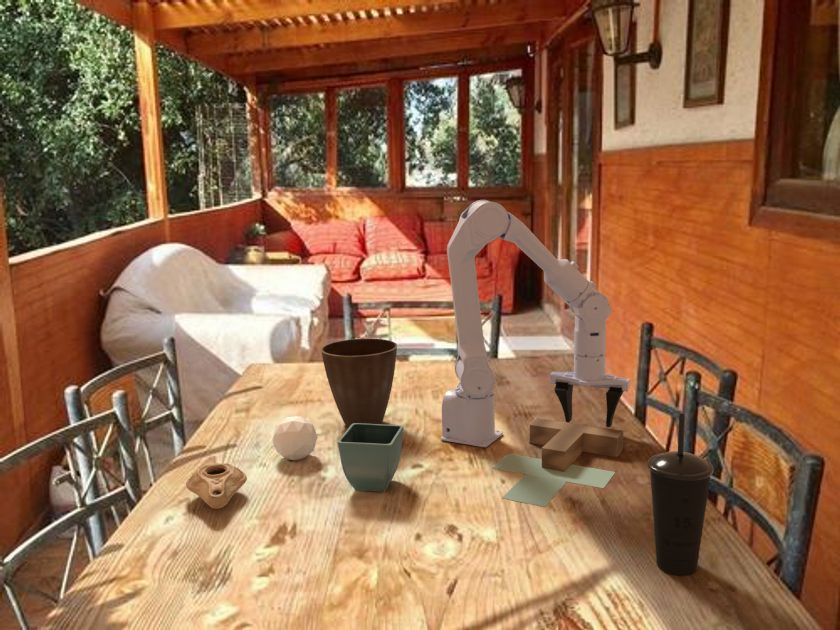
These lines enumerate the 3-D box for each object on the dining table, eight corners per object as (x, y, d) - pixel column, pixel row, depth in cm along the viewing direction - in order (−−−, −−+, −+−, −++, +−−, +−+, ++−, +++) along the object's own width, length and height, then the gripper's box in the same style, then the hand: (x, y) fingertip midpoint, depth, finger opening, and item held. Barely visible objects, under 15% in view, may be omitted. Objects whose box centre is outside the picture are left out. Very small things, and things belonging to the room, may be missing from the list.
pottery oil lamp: (189, 523, 109) (170, 478, 110) (205, 514, 121) (188, 473, 122) (245, 496, 111) (226, 452, 111) (256, 490, 123) (238, 450, 123)
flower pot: (393, 499, 116) (391, 444, 114) (339, 495, 118) (336, 441, 116) (406, 476, 125) (404, 424, 123) (355, 473, 126) (352, 422, 125)
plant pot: (311, 432, 147) (306, 353, 143) (347, 408, 160) (343, 336, 157) (381, 440, 141) (377, 358, 138) (411, 415, 154) (408, 340, 151)
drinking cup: (635, 552, 98) (639, 406, 94) (692, 548, 99) (698, 403, 95) (658, 584, 91) (664, 427, 87) (719, 579, 91) (727, 423, 87)
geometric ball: (293, 468, 136) (294, 426, 140) (326, 460, 132) (326, 416, 136) (262, 460, 131) (264, 416, 134) (295, 451, 127) (297, 406, 130)
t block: (508, 461, 129) (508, 442, 128) (537, 436, 141) (537, 418, 140) (600, 478, 121) (600, 457, 120) (622, 449, 133) (623, 430, 132)
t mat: (466, 491, 118) (466, 490, 118) (508, 454, 133) (508, 453, 133) (584, 515, 109) (584, 514, 109) (615, 472, 123) (615, 471, 123)
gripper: (545, 355, 139) (545, 425, 141) (625, 362, 132) (623, 434, 135) (555, 346, 145) (555, 413, 148) (632, 352, 139) (630, 422, 141)
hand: (588, 423), depth 142 cm, fingers open, 7 cm apart
